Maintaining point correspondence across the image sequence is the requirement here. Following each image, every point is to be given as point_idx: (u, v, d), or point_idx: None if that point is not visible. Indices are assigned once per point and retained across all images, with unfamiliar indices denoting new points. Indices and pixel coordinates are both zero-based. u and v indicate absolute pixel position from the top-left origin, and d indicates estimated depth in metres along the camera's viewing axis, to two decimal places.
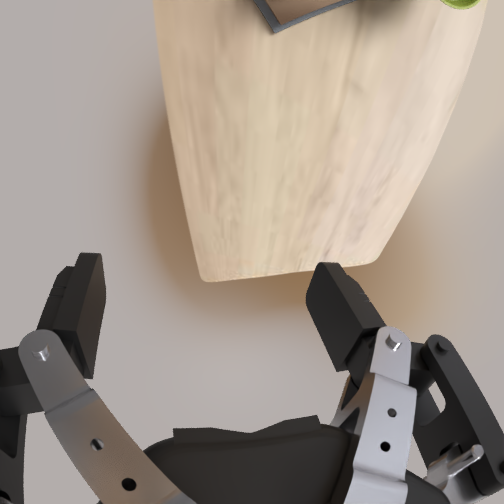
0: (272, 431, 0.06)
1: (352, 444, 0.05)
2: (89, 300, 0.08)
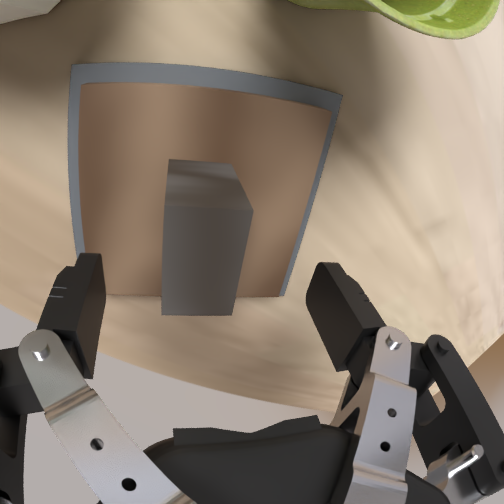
0: (272, 431, 0.06)
1: (352, 444, 0.05)
2: (89, 300, 0.08)
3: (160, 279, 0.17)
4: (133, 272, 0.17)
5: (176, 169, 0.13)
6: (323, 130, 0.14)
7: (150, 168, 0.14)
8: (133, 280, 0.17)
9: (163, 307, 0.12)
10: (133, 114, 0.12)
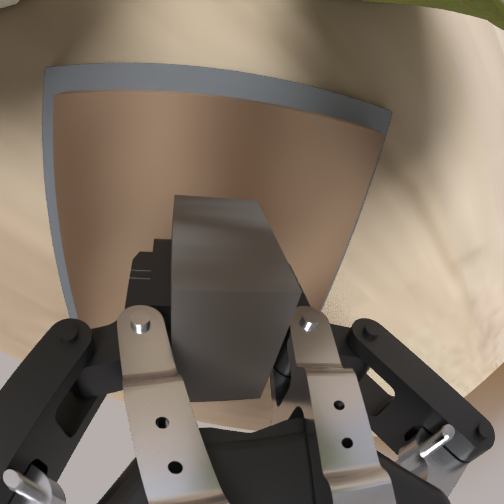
0: (272, 431, 0.06)
1: None
2: None
3: None
4: None
5: (185, 213, 0.09)
6: (372, 157, 0.11)
7: (150, 207, 0.11)
8: None
9: None
10: (125, 134, 0.09)
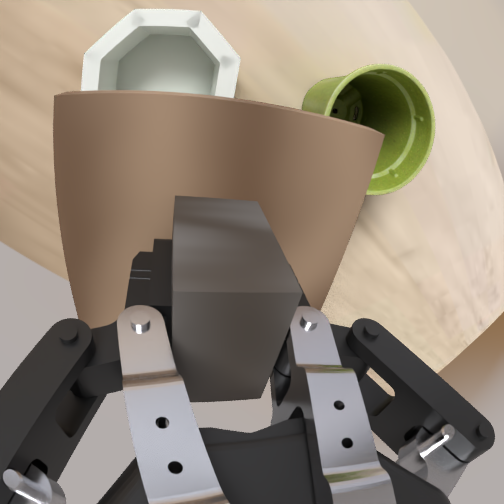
0: (272, 431, 0.06)
1: None
2: None
3: None
4: None
5: (186, 214, 0.09)
6: (373, 158, 0.11)
7: (150, 208, 0.11)
8: None
9: None
10: (126, 135, 0.09)
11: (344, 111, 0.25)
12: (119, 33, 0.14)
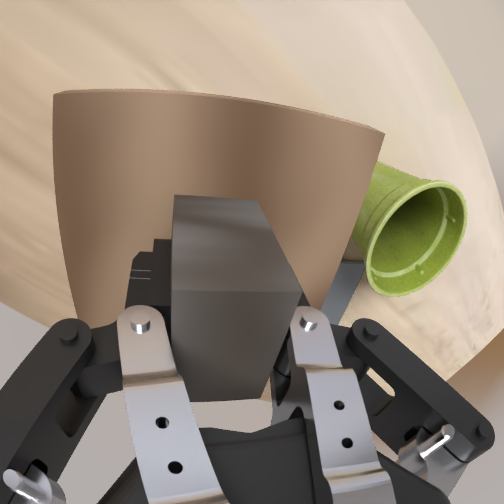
0: (272, 431, 0.06)
1: None
2: None
3: None
4: None
5: (185, 213, 0.09)
6: (373, 157, 0.11)
7: (150, 207, 0.11)
8: None
9: None
10: (125, 134, 0.09)
11: None
12: None
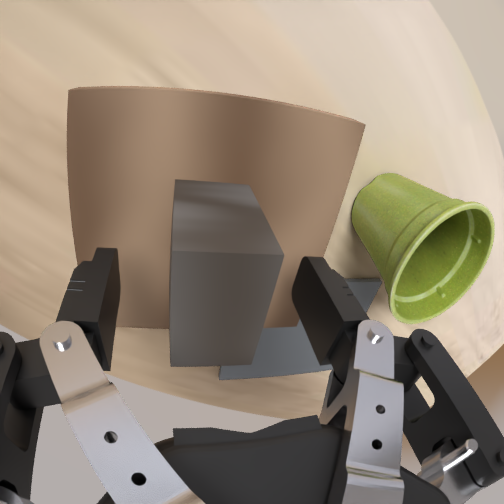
0: (272, 431, 0.06)
1: None
2: (108, 293, 0.08)
3: (166, 312, 0.15)
4: (136, 304, 0.15)
5: (184, 194, 0.11)
6: (355, 146, 0.12)
7: (153, 190, 0.12)
8: (136, 312, 0.15)
9: (172, 359, 0.10)
10: (132, 125, 0.10)
11: None
12: None
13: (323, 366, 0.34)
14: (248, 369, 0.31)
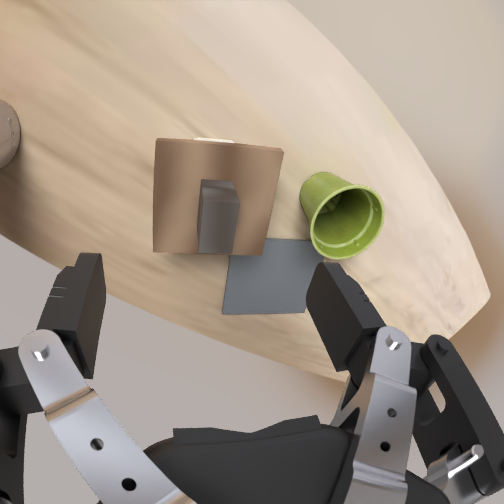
0: (272, 431, 0.06)
1: (352, 444, 0.05)
2: (89, 300, 0.08)
3: (194, 243, 0.32)
4: (179, 239, 0.32)
5: (205, 184, 0.27)
6: (279, 162, 0.29)
7: (191, 183, 0.29)
8: (178, 243, 0.32)
9: (199, 248, 0.27)
10: (183, 157, 0.27)
11: None
12: None
13: (296, 308, 0.51)
14: (242, 305, 0.48)
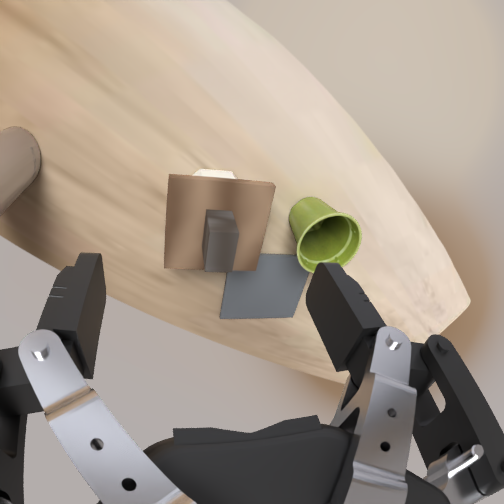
0: (272, 431, 0.06)
1: (352, 444, 0.05)
2: (89, 300, 0.08)
3: (199, 261, 0.38)
4: (186, 257, 0.38)
5: (210, 215, 0.34)
6: (272, 195, 0.35)
7: (198, 213, 0.35)
8: (186, 261, 0.38)
9: (206, 268, 0.33)
10: (191, 191, 0.33)
11: None
12: None
13: (285, 313, 0.57)
14: (237, 311, 0.54)
